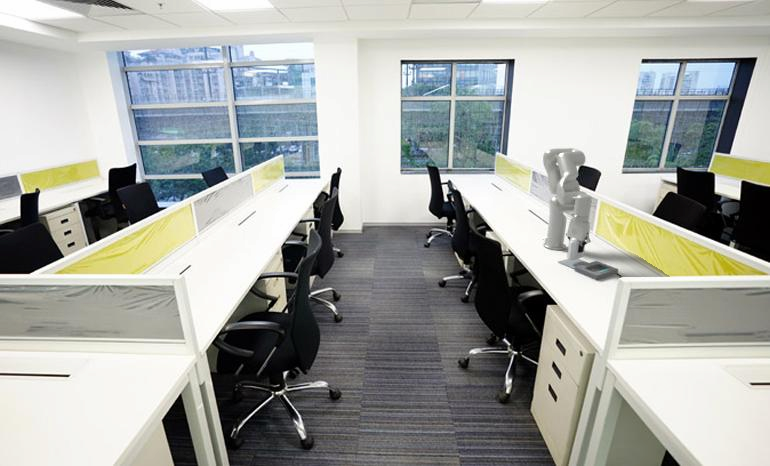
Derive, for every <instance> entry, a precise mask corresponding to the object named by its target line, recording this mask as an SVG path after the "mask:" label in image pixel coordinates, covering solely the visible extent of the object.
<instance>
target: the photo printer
mask: <svg viewBox="0 0 770 466" xmlns="http://www.w3.org/2000/svg"><path fill="white" fill-rule="evenodd" d="M585 242H586V240H585ZM582 243H583V241H582ZM579 246H580V241H579V240H577V239H576V238H575V239H574V238H572V239H571V240H570V241H569V240H568V249H567V254H566V255H567V257H566V259H569V260H576V259H581V258H584V254H585V249H586V248H585V247H586V245H584V250H583V252H581V253H578V248H579Z"/></svg>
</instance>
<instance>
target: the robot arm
mask: <svg viewBox="0 0 770 466" xmlns="http://www.w3.org/2000/svg"><path fill="white" fill-rule="evenodd" d="M542 161H543V166H544V169H545V172H546V174H547V178H548V180H547V181H548V186H549V187H548V188H549V192H550V193H551V194H552V195H554V196H553V197H551V198H550V199H549V202H548V204H549V205H548V206H549V207H548V208H549V219H548V225H547V226H548V227H547V235H544V236H543V237H542V238H541V239H542V240H543V241H544V242H543V245H542V246H543V247H544V248H546V249H549V250H554V251H562V250H565V249H566V248H567V245H566V244H565V237H567V239H568V242H569V241H570V240H571V239H572V238H574V239H575V238H576V239H577V240H579V241H580V246H579V248H578V253H581V252H583V250H584V251H585V249H584V245H585V246H586V245H587V244H590V243H591V242H592V241H591V238H590V229H591V227H590V221H589V220H590V214H591V208H592V201H593V197H592V196H591V195H590V194H588V193H587V192H585V191H582V190H581V187H580V183H579V181H578V180H577V178H578V176H579V170H578V168H577V167H581V166H584V165H585V163H586V155H585V153H584V152H583V151H581V150H579V149H575V148H571V147H569V148H567V147H566V148H551V149H548V150H546V151H544V153H543V156H542ZM566 212H568V213H570V212H572V213H571V217H572V218H570V221H569V223H568V226H567V217H566V215H565V214H564V213H566ZM566 227H568V228H566ZM566 229H567V231H566ZM585 240H586V241H585ZM582 241H583V243H582Z"/></svg>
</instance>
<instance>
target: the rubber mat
mask: <svg viewBox="0 0 770 466" xmlns="http://www.w3.org/2000/svg"><path fill="white" fill-rule="evenodd" d="M557 263H558V264H561V265H563V266H565V267H568V268H570V269H573V270H575V267H576V266H580V265H583V264H587V263H589V262H588V261H585V260H584V259H581V258H579V259H576V260H569V259H568V258H565V259H562V260H560V261H557Z"/></svg>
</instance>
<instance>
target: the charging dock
mask: <svg viewBox="0 0 770 466" xmlns="http://www.w3.org/2000/svg"><path fill="white" fill-rule="evenodd" d="M596 269H600V270H596ZM593 270H596V271H593ZM574 272H576V273H579V274H580V275H583V276H585V277H588V278H590V279H592V280H593V281H597V280H600V279H605V278H607V277H611V276H615V275H616V274H618V273H619V268H616V267H613V266H611V265H608V264H606V263H604V262H600V261H598V260H594V261H590V262H588V263H587V264H583V265H580V266H576V267H575V269H574Z"/></svg>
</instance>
